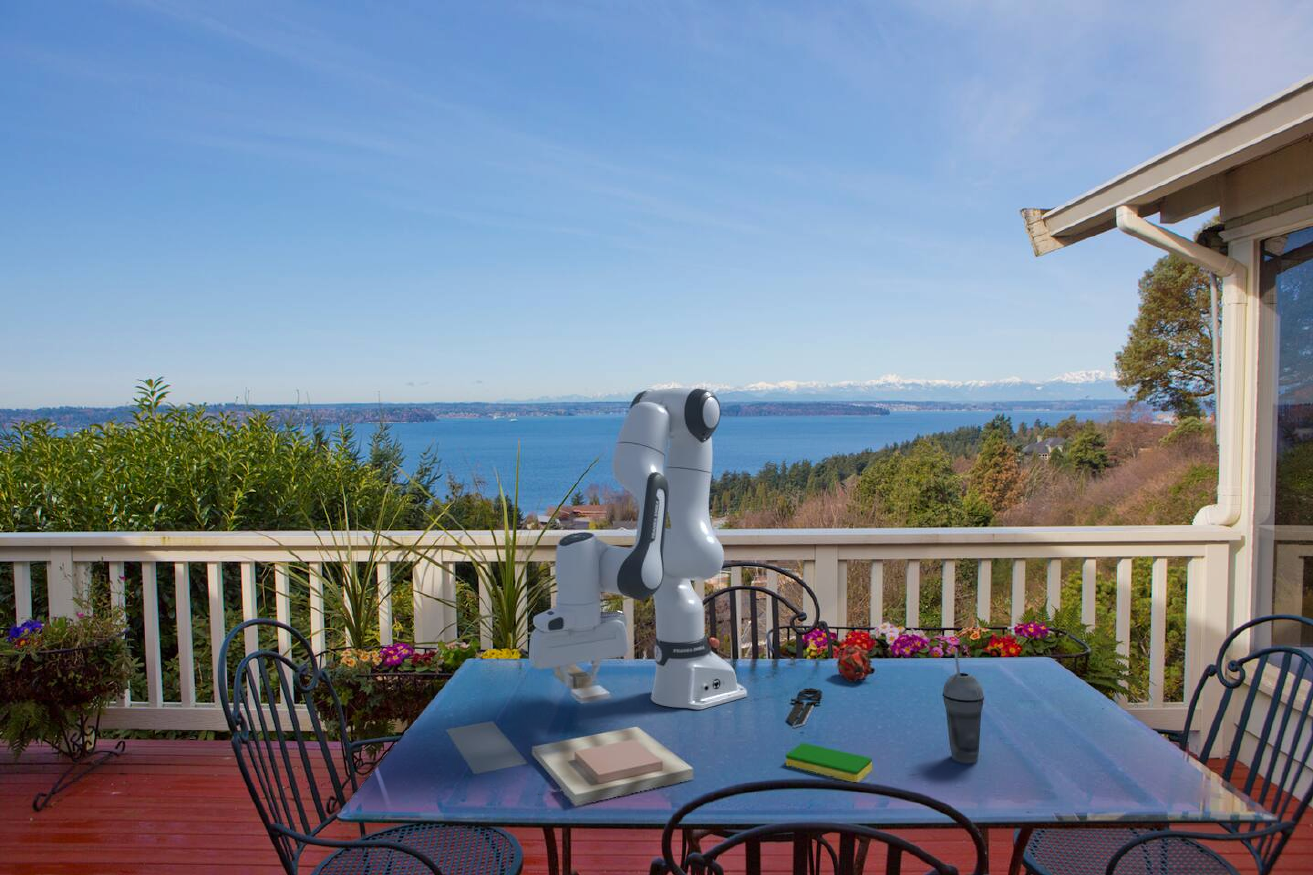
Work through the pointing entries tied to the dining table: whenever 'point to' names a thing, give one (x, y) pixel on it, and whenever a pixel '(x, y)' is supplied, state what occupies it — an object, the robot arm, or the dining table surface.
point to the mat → (485, 747)
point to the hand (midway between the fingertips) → (580, 684)
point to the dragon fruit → (854, 663)
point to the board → (587, 789)
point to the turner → (582, 685)
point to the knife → (807, 709)
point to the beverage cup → (963, 714)
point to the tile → (618, 761)
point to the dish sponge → (829, 762)
